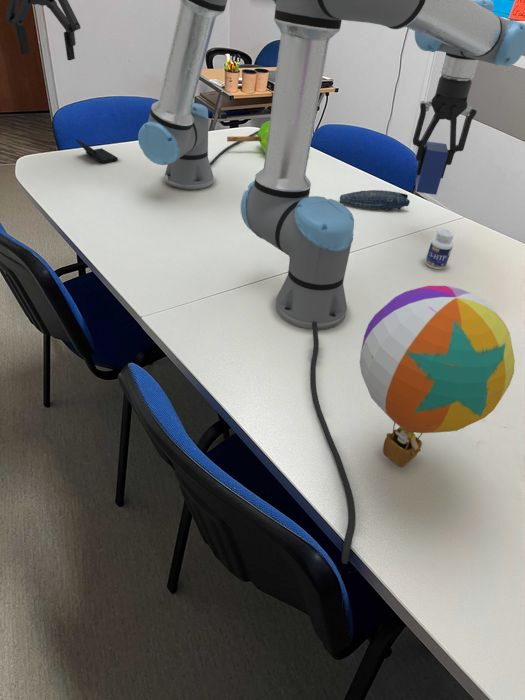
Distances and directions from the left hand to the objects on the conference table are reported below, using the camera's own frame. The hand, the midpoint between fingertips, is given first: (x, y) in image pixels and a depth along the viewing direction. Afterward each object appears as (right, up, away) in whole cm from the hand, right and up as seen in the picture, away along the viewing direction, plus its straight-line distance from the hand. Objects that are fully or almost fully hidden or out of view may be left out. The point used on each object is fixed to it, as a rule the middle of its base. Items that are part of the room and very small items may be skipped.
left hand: (48, 56), depth 143 cm
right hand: (+103, -35, -6) cm, 109 cm away
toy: (+81, -98, -61) cm, 141 cm away
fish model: (+93, -37, +17) cm, 101 cm away
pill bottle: (+103, -59, -10) cm, 120 cm away
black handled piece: (+4, -16, +32) cm, 36 cm away
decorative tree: (+61, -8, +49) cm, 78 cm away
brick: (+103, -38, -4) cm, 109 cm away
